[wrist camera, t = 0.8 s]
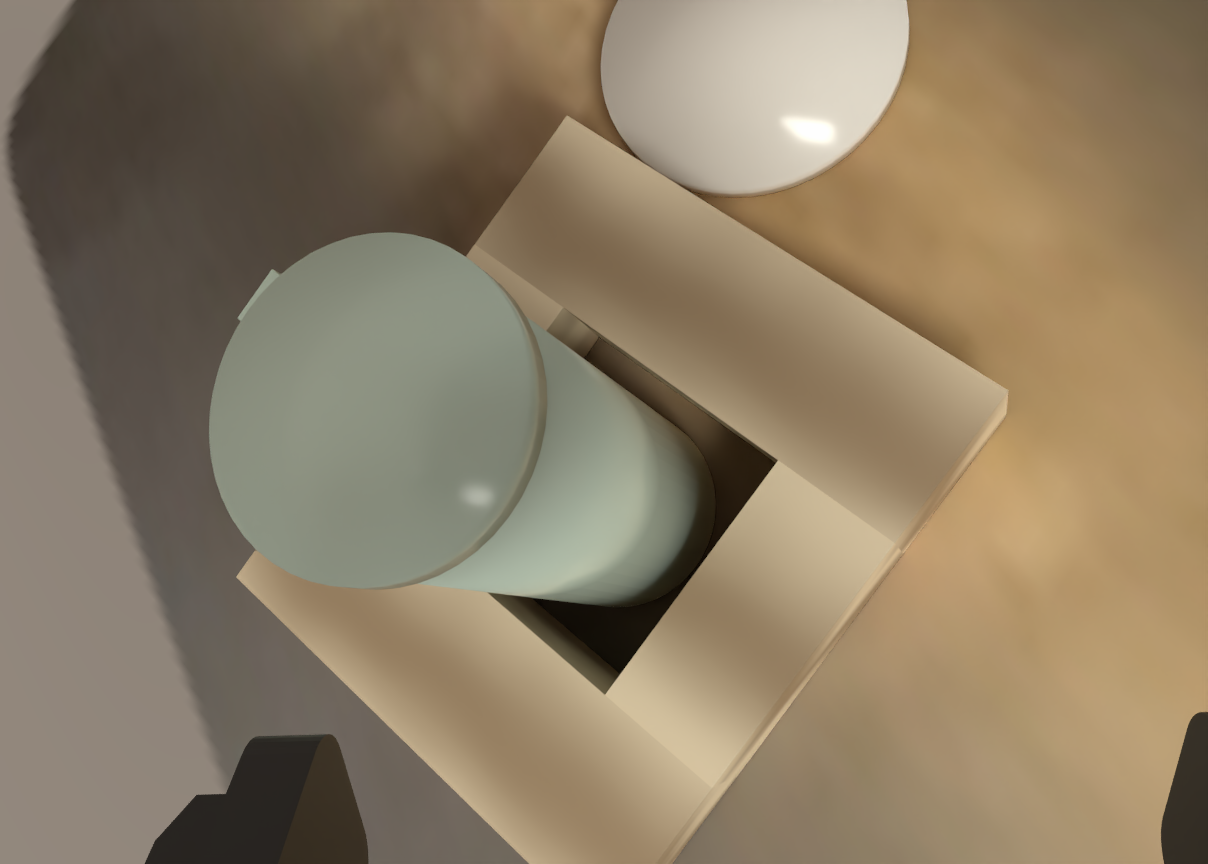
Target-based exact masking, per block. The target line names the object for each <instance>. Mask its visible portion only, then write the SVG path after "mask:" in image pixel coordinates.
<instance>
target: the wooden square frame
mask: <svg viewBox="0 0 1208 864" xmlns="http://www.w3.org/2000/svg"><path fill="white" fill-rule="evenodd" d="M466 257H467V258H468V259H469V260H471V261H472V262H473V263H475V264H476V265H477V266H479V267H480V268H481V269H482V270H484V271H485V272H486V273H488V274H489V275H490V276H491V277H492V278H494V279H495V280H496V281H497V282H498V283H500V284H501V285H502V286H503V287H504V288H505V290H506V291H507V292H508V293H509V294H510V295H511V296H512V297H513V299H514V300H515V301H516V302H517V304H518V305H519V307H520V308H521V310H522V312H523V313H524V315H525V316H526V317H528V318H529V319H531V320H532V321H533V322H535V323H536V324H537V325H539V326H540V327H541V328H543V329H544V330H546V331H547V332H548V333H550V334H551V335H552V336H554V337H555V338H556V339H558V340H559V341H560V342H562V343H563V344H565V345H566V346H567V347H569V348H570V349H571V350H573V351H574V352H575V353H577V354H578V355H580V356H581V357H582V358H584V357H585V356H586V355H587V353H588V352H589V351H590V349H591V348H592V346H593V345H594V344H595V342H596V341H597V340H598V338H599V337H600V338H602V339H603V340H604V341H606V342H607V343H609V344H610V345H611V346H613V347H614V348H616V349H617V350H618V351H620V352H621V353H623V354H624V355H625V356H627V357H628V358H630V359H631V360H632V361H634V362H635V363H637V364H638V365H639V366H641V367H642V368H644V369H645V370H646V371H648V372H649V373H651V374H652V375H653V376H655V377H656V378H658V379H659V380H660V381H662V382H663V383H665V384H666V385H667V386H669V387H670V388H672V389H673V390H674V391H676V392H677V393H679V394H680V395H681V396H683V397H684V398H686V399H687V400H689V401H690V402H691V403H693V404H694V405H696V406H697V407H698V408H700V409H701V410H703V411H704V412H705V413H707V414H708V415H710V416H711V417H712V418H714V419H715V420H717V421H718V422H719V423H721V424H722V425H724V426H725V427H726V428H728V429H729V430H731V431H732V432H733V433H735V434H736V435H738V436H739V437H740V438H742V439H743V440H745V441H746V442H747V443H749V444H750V445H752V446H753V447H754V448H756V449H757V450H759V451H760V452H761V453H763V454H764V455H766V456H767V457H768V458H770V459H771V460H773V461H774V462H775V463H776V464H775V465H774V466H773V468H772V469H771V470H770V472H769V473H768V475H767V476H766V477H765V479H764V480H763V481H762V483H761V484H760V485H759V487H758V488H757V489H756V491H755V492H754V494H753V495H752V496H751V498H750V499H749V500H748V502H747V503H746V504H745V506H744V507H743V508H742V510H741V511H740V513H739V514H738V515H737V517H736V518H735V519H734V521H733V522H732V523H731V525H730V526H729V527H728V529H727V530H726V531H725V533H724V534H723V536H722V537H721V538H720V540H719V541H718V542H717V544H716V545H715V546H714V548H713V549H712V550H711V552H710V553H709V555H708V556H707V557H706V559H705V560H704V561H703V563H702V564H701V565H700V567H699V568H698V569H697V571H696V572H695V574H694V575H693V576H692V578H691V579H690V580H689V582H688V583H687V584H686V586H685V587H684V588H683V590H682V591H681V593H680V594H679V595H678V597H677V598H676V599H675V601H674V602H673V603H672V605H671V606H670V607H669V609H668V610H667V611H666V613H665V614H664V616H663V617H662V618H661V620H660V621H659V622H658V624H657V625H656V626H655V628H654V629H653V630H652V632H651V633H650V635H649V636H648V637H647V639H646V640H645V641H644V643H643V644H642V645H641V647H640V648H639V649H638V651H637V652H636V654H635V655H634V656H633V658H632V659H631V660H630V662H629V663H628V664H627V666H626V667H625V668H624V670H623V671H622V673H621V674H620V673H618V672H617V671H616V670H615V669H614V668H613V667H611V666H610V665H609V664H608V663H607V662H605V661H604V660H603V659H602V658H601V657H600V656H598V655H597V654H596V653H595V652H594V651H593V650H591V649H590V648H589V647H588V646H587V645H586V644H584V643H583V642H582V641H581V640H580V639H579V638H577V637H576V636H575V635H574V634H573V633H572V632H570V631H569V630H568V629H567V628H566V627H565V626H563V625H562V624H561V623H560V622H559V621H558V620H556V619H555V618H554V617H553V616H552V615H551V614H549V613H548V612H547V611H546V610H545V609H544V608H542V607H541V606H540V605H539V604H538V603H537V602H535V601H534V600H533V599H532V598H530V597H522V596H514V595H506V594H497V593H489V592H481V591H472V590H464V589H456V588H448V587H439V586H431V585H423V584H414V585H409V586H405V587H401V588H395V589H382V590H370V589H356V588H346V587H336V586H328V585H324V584H319V583H315V582H311V581H307V580H305V579H302V578H300V577H297V576H295V575H292V574H290V573H288V572H287V571H285V570H283V569H282V568H280V567H278V566H277V565H275V564H273V563H272V562H271V561H269V560H268V559H267V558H266V557H264V556H263V555H262V554H261V553H260V552H258V551H257V550H255V552H254V553H253V554H252V556H251V557H250V559H249V560H248V561H247V563H246V564H245V566H244V567H243V568H242V570H241V571H240V573H239V574H238V575H237V578H238V579H239V580H240V581H241V582H242V583H243V584H244V585H245V586H246V587H247V588H248V589H249V590H250V591H251V592H252V593H253V594H254V595H255V596H256V597H257V598H258V599H259V600H260V601H261V602H262V603H263V604H264V605H265V606H266V607H267V608H268V609H269V610H271V611H272V612H273V613H274V614H275V615H276V616H277V617H278V618H279V619H280V620H281V621H282V622H283V623H284V624H285V625H286V626H287V627H288V628H289V629H290V630H291V631H292V632H293V633H294V634H295V635H296V636H297V637H298V638H299V639H300V640H301V641H302V642H303V643H304V644H305V645H306V646H307V647H308V648H309V649H310V650H311V651H312V652H313V653H314V654H315V655H317V656H318V657H319V658H320V659H321V660H322V661H323V662H324V663H325V664H326V665H327V666H328V667H329V668H330V669H331V670H332V671H333V672H334V673H335V674H336V675H337V676H338V677H339V678H340V679H341V680H342V681H343V682H344V683H345V684H346V685H347V686H348V687H349V688H350V689H351V690H352V691H353V692H354V693H355V694H356V695H357V696H358V697H359V698H360V699H361V700H363V701H364V702H365V703H366V704H367V705H368V706H369V707H370V708H371V709H372V710H373V711H374V712H375V713H376V714H377V715H378V716H379V717H380V718H381V719H382V720H383V721H384V722H385V723H386V724H387V725H388V726H389V727H390V728H391V729H392V730H393V731H394V732H395V733H396V734H397V735H398V736H399V737H400V738H401V739H402V740H403V741H404V742H405V743H406V744H407V745H409V746H410V747H411V748H412V749H413V750H414V751H415V752H416V753H417V754H418V755H419V756H420V757H421V758H422V759H423V760H424V761H425V762H426V763H427V764H428V765H429V766H430V767H431V768H432V769H433V770H434V771H435V772H436V773H437V774H438V775H439V776H440V777H441V778H442V779H443V780H444V781H445V782H446V783H447V784H448V785H449V786H450V787H451V788H452V789H453V790H455V791H456V792H457V793H458V794H459V795H460V796H461V797H462V798H463V799H464V800H465V801H466V802H467V803H468V804H469V805H470V806H471V807H472V808H473V809H474V810H475V811H476V812H477V813H478V814H479V815H480V816H481V817H482V818H483V819H484V820H485V821H486V822H487V823H488V824H489V825H490V826H491V827H492V828H493V829H494V830H495V831H496V832H497V833H498V834H499V835H501V836H502V837H503V838H504V839H505V840H506V841H507V842H508V843H509V844H510V845H511V846H512V847H513V848H514V849H515V850H516V851H517V852H518V853H519V854H520V855H521V856H522V857H523V858H524V859H525V860H526V861H527V862H528V863H529V864H672V863H673V862H674V860H675V859H676V858H677V856H678V855H679V854H680V852H681V851H682V850H683V848H684V847H685V846H686V844H687V843H688V842H689V840H690V839H691V838H692V836H693V835H694V833H695V832H696V831H697V829H698V828H699V827H700V825H701V824H702V823H703V821H704V820H705V819H706V817H707V816H708V815H709V813H710V812H711V811H712V809H713V808H714V807H715V805H716V804H717V803H718V801H719V800H720V799H721V797H722V796H723V795H724V793H725V792H726V791H727V789H728V788H729V787H730V785H731V784H732V783H733V781H734V780H735V779H736V777H737V776H738V775H739V773H740V772H741V771H742V769H743V768H744V767H745V765H746V764H747V763H748V761H749V760H750V758H751V757H752V756H753V754H754V753H755V752H756V750H757V749H758V748H759V746H760V745H761V744H762V742H763V741H764V740H765V738H766V737H767V736H768V734H769V733H770V732H771V730H772V729H773V728H774V726H775V725H776V724H777V722H778V721H779V720H780V718H781V717H782V716H783V714H784V713H785V712H786V710H787V709H788V708H789V706H790V705H791V704H792V702H793V701H794V700H795V698H796V697H797V696H798V694H799V693H800V692H801V690H802V689H803V687H804V686H805V685H806V683H807V682H808V681H809V679H810V678H811V677H812V675H813V674H814V673H815V671H816V670H817V669H818V667H819V666H820V665H821V663H822V662H823V661H824V659H825V658H826V657H827V655H828V654H829V653H830V651H831V650H832V649H833V647H834V646H835V645H836V643H837V642H838V641H839V639H840V638H841V637H842V635H843V634H844V633H845V631H846V630H847V629H848V627H849V626H850V625H851V623H852V622H853V621H854V619H855V618H856V617H857V615H858V614H859V612H860V611H861V610H862V608H863V607H864V606H865V604H866V603H867V602H868V600H869V599H870V598H871V596H872V595H873V594H874V592H875V591H876V590H877V588H878V587H879V586H880V584H881V583H882V582H883V580H884V579H885V578H886V576H887V575H888V574H889V572H890V571H891V570H892V568H893V567H894V566H895V564H896V563H897V562H898V560H899V559H900V558H901V556H902V555H903V554H904V552H905V551H906V550H907V548H908V547H909V546H910V544H911V543H912V542H913V540H914V539H915V537H916V536H917V535H918V533H919V532H920V531H921V529H922V528H923V527H924V525H925V524H926V523H927V521H928V520H929V519H930V517H931V516H932V515H933V513H934V512H935V511H936V509H937V508H938V507H939V505H940V504H941V503H942V501H943V500H944V499H945V497H946V496H947V495H948V493H949V492H950V491H951V489H952V488H953V487H954V485H955V484H956V483H957V481H958V480H959V479H960V477H961V476H962V475H963V473H964V472H965V471H966V469H967V468H968V467H969V465H970V464H971V462H972V461H973V460H974V458H975V457H976V456H977V454H978V453H979V452H980V450H981V449H982V448H983V446H984V445H985V444H986V442H987V441H988V440H989V438H990V437H991V436H992V434H993V433H994V432H995V430H996V429H997V428H998V426H999V425H1000V424H1001V422H1002V421H1003V420H1004V418H1005V417H1006V412H1007V401H1008V390H1007V389H1005V388H1003V387H1002V386H1000V385H999V384H997V383H995V382H994V381H992V380H991V379H989V378H987V377H986V376H984V375H983V374H981V373H979V372H978V371H976V370H975V369H973V368H971V367H970V366H968V365H967V364H965V363H963V362H962V361H960V360H959V359H957V358H955V357H954V356H952V355H951V354H949V353H947V352H946V351H944V350H943V349H941V348H939V347H938V346H936V345H935V344H933V343H931V342H930V341H928V340H926V339H925V338H923V337H922V336H920V335H918V334H917V333H915V332H914V331H912V330H910V329H909V328H907V327H906V326H904V325H902V324H901V323H899V322H898V321H896V320H894V319H893V318H891V317H890V316H888V315H886V314H885V313H883V312H882V311H880V310H878V309H877V308H875V307H874V306H872V305H870V304H869V303H867V302H866V301H864V300H862V299H861V298H859V297H858V296H856V295H854V294H853V293H851V292H849V291H848V290H846V289H845V288H843V287H841V286H840V285H838V284H837V283H835V282H833V281H832V280H830V279H829V278H827V277H825V276H824V275H822V274H821V273H819V272H817V271H816V270H814V269H813V268H811V267H809V266H808V265H806V264H805V263H803V262H801V261H800V260H798V259H797V258H795V257H793V256H792V255H790V254H789V253H787V252H785V251H784V250H782V249H780V248H779V247H777V246H776V245H774V244H772V243H771V242H769V241H768V240H766V239H764V238H763V237H761V236H760V235H758V234H756V233H755V232H753V231H752V230H750V229H748V228H747V227H745V226H744V225H742V224H740V223H739V222H737V221H736V220H734V219H732V218H731V217H729V216H728V215H726V214H724V213H723V212H721V211H720V210H718V209H716V208H715V207H713V206H712V205H710V204H708V203H707V202H705V201H703V200H702V199H700V198H699V197H697V196H695V195H694V194H692V193H691V192H689V191H687V190H686V189H684V188H683V187H681V186H679V185H678V184H676V183H675V182H673V181H671V180H670V179H668V178H667V177H665V176H663V175H662V174H660V173H659V172H657V171H655V170H654V169H652V168H651V167H649V166H647V165H646V164H644V163H643V162H641V161H639V160H638V159H636V158H635V157H633V156H631V155H630V154H628V153H626V152H625V151H623V150H622V149H620V148H618V147H617V146H615V145H614V144H612V143H610V142H609V141H607V140H606V139H604V138H602V137H601V136H599V135H598V134H596V133H594V132H593V131H591V130H590V129H588V128H586V127H585V126H583V125H582V124H580V123H578V122H577V121H575V120H574V119H572V118H570V117H569V116H566V117H565V119H564V120H563V122H562V123H561V124H560V126H559V127H558V129H557V130H556V131H555V133H554V134H553V136H552V137H551V138H550V140H549V141H548V143H547V144H546V145H545V147H544V148H543V150H542V151H541V152H540V154H539V155H538V157H537V158H536V159H535V161H534V162H533V163H532V165H531V166H530V168H529V169H528V170H527V172H526V173H525V175H524V176H523V177H522V179H521V180H520V182H519V183H518V184H517V186H516V187H515V189H514V190H513V191H512V193H511V194H510V196H509V197H508V198H507V200H506V201H505V203H504V204H503V205H502V207H501V208H500V210H499V211H498V212H497V214H496V215H495V217H494V218H493V219H492V221H491V222H490V224H489V225H488V226H487V228H486V229H485V230H484V232H483V233H482V235H481V236H480V237H479V239H478V240H477V242H476V243H475V244H474V246H473V247H472V249H471V250H470V251H469V253H468V254H467V256H466Z"/></svg>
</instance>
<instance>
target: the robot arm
mask: <svg viewBox="0 0 1208 864" xmlns="http://www.w3.org/2000/svg"><path fill="white" fill-rule="evenodd" d="M1161 843H1162V853H1163V859H1164V864H1208V712H1200V713H1197V714H1195V715H1194V716H1193V717H1192V719H1191V721H1190V723H1189V725H1188V728H1187V732H1186V735H1185V739H1184V743H1183V746H1182V750H1181V754H1180V757H1179V761H1178V764H1177V768H1176V772H1175V775H1174V779H1173V783H1172V786H1171V790H1170V793H1169V797H1168V801H1167V804H1166V808H1165V812H1164V815H1163V820H1162V827H1161ZM145 864H368V846H367V839H366V834H365V830H364V827H363V823H362V820H361V817H360V813H359V810H358V806H357V803H356V800H355V796H354V793H353V790H352V786H351V783H350V780H349V776H348V773H347V770H346V766H345V763H344V760H343V756H342V753H341V750H340V747H339V744H338V742H337V740H336V738H335V737H334V736H333V735H330V734H325V735H290V736H258V737H255V738H253V739H252V740H251V741H250V742H249V743H248V744H247V746H246V747H245V749H244V751H243V754H242V756H241V758H240V761H239V763H238V766H237V768H236V771H235V773H234V775H233V778H232V780H231V783H230V785H229V788H228V790H227V793H226V794H212V795H196V796H195V797H194V799H193V800H192V801H191V802H190V803H189V804H188V805H187V806H186V807H185V808H184V810H183V811H182V812H181V813H180V814H179V815H178V816H177V817H176V818H175V820H174V821H173V822H172V823H171V824H170V825H169V826H168V827H167V828H166V829H165V831H164V832H163V833H162V834H161V835H160V836H159V837H158V838H157V839H156V841H155V842H154V844H153V847H152V849H151V851H150V853H149V855H148V858H147V860H146V862H145Z"/></svg>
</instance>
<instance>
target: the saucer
mask: <svg viewBox="0 0 1208 864" xmlns="http://www.w3.org/2000/svg"><path fill="white" fill-rule="evenodd" d="M909 36H910V26H909V18H908V9H907V1H906V0H618V1H617V4H616V6H615V8H614V10H613V12H612V14H611V17H610V20H609V23H608V26H607V29H606V32H605V37H604V42H603V46H602V56H601V83H602V89H603V94H604V99H605V103H606V106H607V109H608V111H609V114H610V117H611V119H612V121H613V123H614V125H615V127H616V129H617V130H618V132H619V134H620V135H621V137H622V138H623V140H624V141H625V142H626V144H627V145H628V146H629V148H630V149H631V150H632V152H633V153H634V155H635V156H636V157H637V158H638V159H639V160H640V161H641V162H643V163H644V164H646V165H647V166H649V167H651V168H652V169H654V170H655V171H657V172H659V173H660V174H662V175H663V176H665V177H667V178H668V179H670V180H671V181H673V182H675V183H676V184H678V185H679V186H681V187H683V188H684V189H686V190H689V191H692V192H695V193H700V194H704V195H709V196H714V197H728V198H741V197H756V196H761V195H767V194H772V193H776V192H780V191H783V190H786V189H789V188H793V187H795V186H798V185H800V184H802V183H805V182H807V181H809V180H811V179H814V178H815V177H817V176H819V175H821V174H822V173H824V172H826V171H827V170H829V169H831V168H832V167H834V166H835V165H836V164H838V163H839V162H840V161H842V160H843V159H844V158H846V157H847V156H848V155H850V154H851V153H852V152H853V151H854V150H855V149H856V148H857V147H858V146H859V145H860V144H861V143H862V142H863V141H864V140H865V139H866V138H867V137H868V136H869V135H870V133H871V132H872V131H873V130H874V129H875V127H876V126H877V125H878V124H879V122H880V121H881V119H882V118H883V116H884V115H885V113H886V112H887V110H888V108H889V107H890V105H891V103H892V101H893V99H894V97H895V95H896V93H897V91H898V88H899V86H900V83H901V80H902V77H903V74H904V71H905V68H906V62H907V57H908V51H909Z"/></svg>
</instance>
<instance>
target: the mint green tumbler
mask: <svg viewBox="0 0 1208 864" xmlns="http://www.w3.org/2000/svg"><path fill="white" fill-rule="evenodd" d="M238 319H239V320H240V321H241V322H240V324H239V325H238V327H237V328H236V330H235V332H234V334H233V336H232V338H231V340H230V342H229V344H228V346H227V348H226V351H225V353H224V356H223V359H222V362H221V364H220V367H219V370H218V373H217V377H216V381H215V385H214V389H213V394H212V401H211V408H210V420H209V441H210V453H211V461H212V466H213V470H214V475H215V480H216V483H217V485H218V488H219V491H220V494H221V497H222V500H223V502H224V504H225V506H226V508H227V510H228V512H229V514H230V516H231V518H232V519H233V521H234V522H235V524H236V525H237V527H238V528H239V530H240V531H241V533H242V534H243V536H244V537H245V538H246V539H247V540H248V541H249V542H250V543H251V544H252V545H253V547H254V548H255V549H256V550H257V551H258V552H260V553H261V554H262V555H263V556H264V557H266V558H267V559H268V560H269V561H271V562H272V563H273V564H275V565H277V566H278V567H280V568H282V569H283V570H285V571H287V572H288V573H290V574H292V575H295V576H297V577H300V578H302V579H305V580H307V581H311V582H315V583H319V584H324V585H328V586H336V587H346V588H356V589H370V590H382V589H395V588H401V587H405V586H409V585H414V584H423V585H431V586H439V587H448V588H456V589H464V590H472V591H481V592H489V593H497V594H506V595H514V596H522V597H530V598H539V599H547V600H555V601H564V602H572V603H580V604H588V605H597V606H605V607H631V606H636V605H641V604H644V603H647V602H650V601H653V600H656V599H657V598H659V597H661V596H663V595H665V594H667V593H668V592H670V591H671V590H673V589H674V588H676V587H677V586H678V585H679V584H680V583H681V582H683V581H684V580H685V579H686V578H687V577H688V576H689V574H690V573H691V572H692V571H693V570H694V569H695V567H696V566H697V564H698V563H699V561H700V560H701V558H702V556H703V555H704V552H705V550H706V548H707V546H708V544H709V541H710V538H711V535H712V532H713V527H714V522H715V513H716V498H715V489H714V484H713V479H712V476H711V473H710V470H709V467H708V465H707V463H706V461H705V459H704V457H703V455H702V454H701V452H700V451H699V449H698V448H697V446H696V445H695V444H694V443H693V442H692V440H691V439H690V438H689V437H688V436H687V435H686V434H685V433H683V432H682V431H681V430H680V429H679V428H677V427H676V426H675V425H673V424H672V423H671V422H669V421H668V420H667V419H665V418H664V417H662V416H661V415H660V414H658V413H657V412H656V411H654V410H653V409H652V408H650V407H649V406H648V405H646V404H645V403H643V402H642V401H641V400H639V399H638V398H637V397H635V396H634V395H633V394H631V393H630V392H628V391H627V390H626V389H624V388H623V387H622V386H620V385H619V384H618V383H616V382H615V381H614V380H612V379H611V378H609V377H608V376H607V375H605V374H604V373H603V372H601V371H600V370H599V369H597V368H596V367H594V366H593V365H592V364H590V363H589V362H588V361H586V360H585V359H584V358H582V357H581V356H580V355H578V354H577V353H575V352H574V351H573V350H571V349H570V348H569V347H567V346H566V345H565V344H563V343H562V342H560V341H559V340H558V339H556V338H555V337H554V336H552V335H551V334H550V333H548V332H547V331H546V330H544V329H543V328H541V327H540V326H539V325H537V324H536V323H535V322H533V321H532V320H531V319H529V318H528V317H526V316H525V315H524V313H523V312H522V310H521V308H520V307H519V305H518V304H517V302H516V301H515V300H514V299H513V297H512V296H511V295H510V294H509V293H508V292H507V291H506V290H505V288H504V287H503V286H502V285H501V284H500V283H498V282H497V281H496V280H495V279H494V278H492V277H491V276H490V275H489V274H488V273H486V272H485V271H484V270H482V269H481V268H480V267H479V266H477V265H476V264H475V263H473V262H472V261H471V260H469V259H468V258H467V257H465V256H464V255H462V254H460V253H459V252H457V251H455V250H454V249H452V248H450V247H449V246H446V245H444V244H441V243H439V242H437V241H434V240H432V239H429V238H424V237H420V236H416V235H412V234H404V233H394V232H386V233H369V234H364V235H359V236H353V237H349V238H346V239H343V240H340V241H337V242H334V243H331V244H329V245H327V246H325V247H322V248H320V249H318V250H316V251H314V252H312V253H310V254H309V255H307V256H306V257H304V258H302V259H301V260H299V261H298V262H296V263H295V264H293V265H292V266H291V267H289V268H288V269H287V270H286V271H284V272H283V273H282V274H281V273H279V272H277V271H275V270H273V269H272V270H271V271H270V273H269V274H268V276H267V277H266V278H265V280H264V281H263V283H262V284H261V286H260V287H259V288H258V290H257V291H256V293H255V294H254V295H253V297H252V298H251V300H250V301H249V302H248V304H247V305H246V307H245V308H244V310H243V311H242V312H241V314H240V315H239V317H238Z"/></svg>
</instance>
